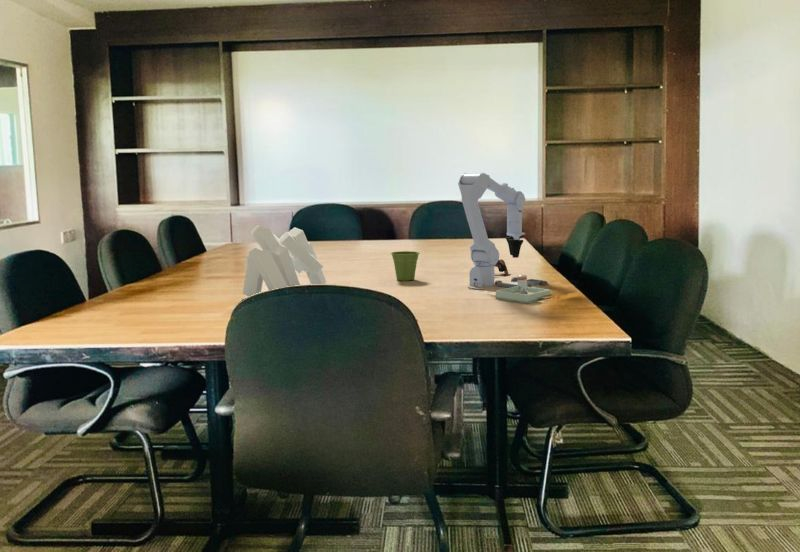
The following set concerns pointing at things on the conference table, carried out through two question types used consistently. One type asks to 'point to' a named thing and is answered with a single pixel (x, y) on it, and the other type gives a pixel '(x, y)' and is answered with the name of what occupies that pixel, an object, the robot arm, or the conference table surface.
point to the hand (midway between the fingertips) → (514, 256)
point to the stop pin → (522, 284)
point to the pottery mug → (502, 266)
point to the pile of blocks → (280, 261)
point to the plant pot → (405, 264)
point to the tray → (522, 295)
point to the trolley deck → (515, 283)
